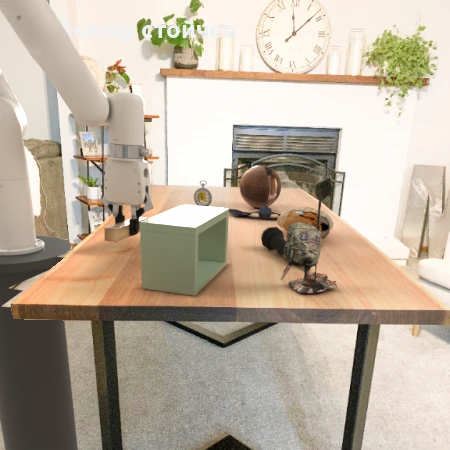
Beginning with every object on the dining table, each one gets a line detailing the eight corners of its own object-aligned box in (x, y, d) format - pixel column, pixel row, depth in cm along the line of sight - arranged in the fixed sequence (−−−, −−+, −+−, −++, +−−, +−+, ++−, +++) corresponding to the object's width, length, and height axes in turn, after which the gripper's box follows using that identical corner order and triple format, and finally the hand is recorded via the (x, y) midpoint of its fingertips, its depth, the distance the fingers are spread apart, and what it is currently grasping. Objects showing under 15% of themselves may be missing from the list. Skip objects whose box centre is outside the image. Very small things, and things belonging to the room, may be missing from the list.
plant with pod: (272, 280, 86) (281, 174, 78) (328, 280, 87) (342, 175, 80) (282, 295, 78) (293, 179, 71) (343, 295, 80) (360, 181, 72)
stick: (104, 240, 99) (104, 227, 98) (137, 228, 114) (137, 216, 113) (115, 242, 98) (115, 229, 97) (147, 229, 113) (147, 217, 112)
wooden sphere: (234, 204, 168) (235, 163, 162) (271, 204, 172) (274, 163, 166) (245, 211, 154) (247, 166, 149) (285, 211, 158) (289, 167, 153)
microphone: (310, 282, 95) (272, 247, 112) (322, 258, 93) (281, 226, 109) (290, 276, 93) (253, 242, 109) (301, 252, 91) (263, 220, 107)
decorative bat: (218, 204, 139) (221, 202, 149) (217, 217, 141) (220, 214, 150) (313, 209, 137) (310, 206, 147) (311, 222, 139) (308, 219, 148)
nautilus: (340, 252, 109) (279, 252, 110) (327, 228, 128) (275, 228, 129) (344, 221, 106) (281, 221, 107) (329, 201, 125) (276, 201, 126)
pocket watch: (189, 213, 147) (190, 182, 144) (186, 208, 155) (187, 179, 151) (214, 213, 149) (214, 182, 145) (209, 208, 157) (210, 179, 153)
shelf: (141, 288, 79) (139, 221, 75) (182, 259, 97) (183, 204, 93) (194, 296, 76) (195, 227, 72) (226, 264, 94) (228, 208, 90)
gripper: (166, 156, 101) (164, 235, 107) (103, 149, 105) (105, 226, 111) (152, 157, 94) (151, 241, 101) (85, 150, 98) (88, 232, 104)
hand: (127, 233), depth 106 cm, fingers closed on stick, 2 cm apart
